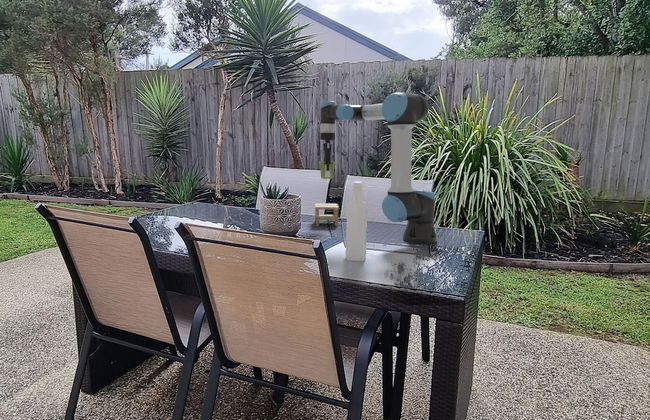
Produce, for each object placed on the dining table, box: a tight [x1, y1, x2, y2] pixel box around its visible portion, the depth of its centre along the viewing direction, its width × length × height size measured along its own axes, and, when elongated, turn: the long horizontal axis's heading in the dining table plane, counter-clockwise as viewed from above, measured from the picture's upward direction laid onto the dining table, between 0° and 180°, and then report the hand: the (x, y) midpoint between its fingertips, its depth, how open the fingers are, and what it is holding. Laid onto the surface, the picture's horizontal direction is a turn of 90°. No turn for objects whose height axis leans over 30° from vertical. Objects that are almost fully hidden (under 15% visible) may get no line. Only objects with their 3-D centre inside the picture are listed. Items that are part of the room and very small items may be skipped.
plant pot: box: [318, 160, 337, 180], centre depth 224 cm, size 9×9×9 cm
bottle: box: [345, 181, 368, 263], centre depth 165 cm, size 8×8×30 cm
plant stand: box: [314, 202, 340, 227], centre depth 229 cm, size 12×12×10 cm
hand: (327, 176), depth 225 cm, fingers closed on plant pot, 9 cm apart
